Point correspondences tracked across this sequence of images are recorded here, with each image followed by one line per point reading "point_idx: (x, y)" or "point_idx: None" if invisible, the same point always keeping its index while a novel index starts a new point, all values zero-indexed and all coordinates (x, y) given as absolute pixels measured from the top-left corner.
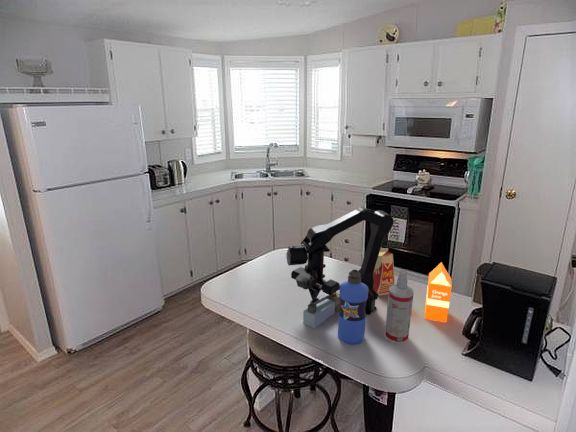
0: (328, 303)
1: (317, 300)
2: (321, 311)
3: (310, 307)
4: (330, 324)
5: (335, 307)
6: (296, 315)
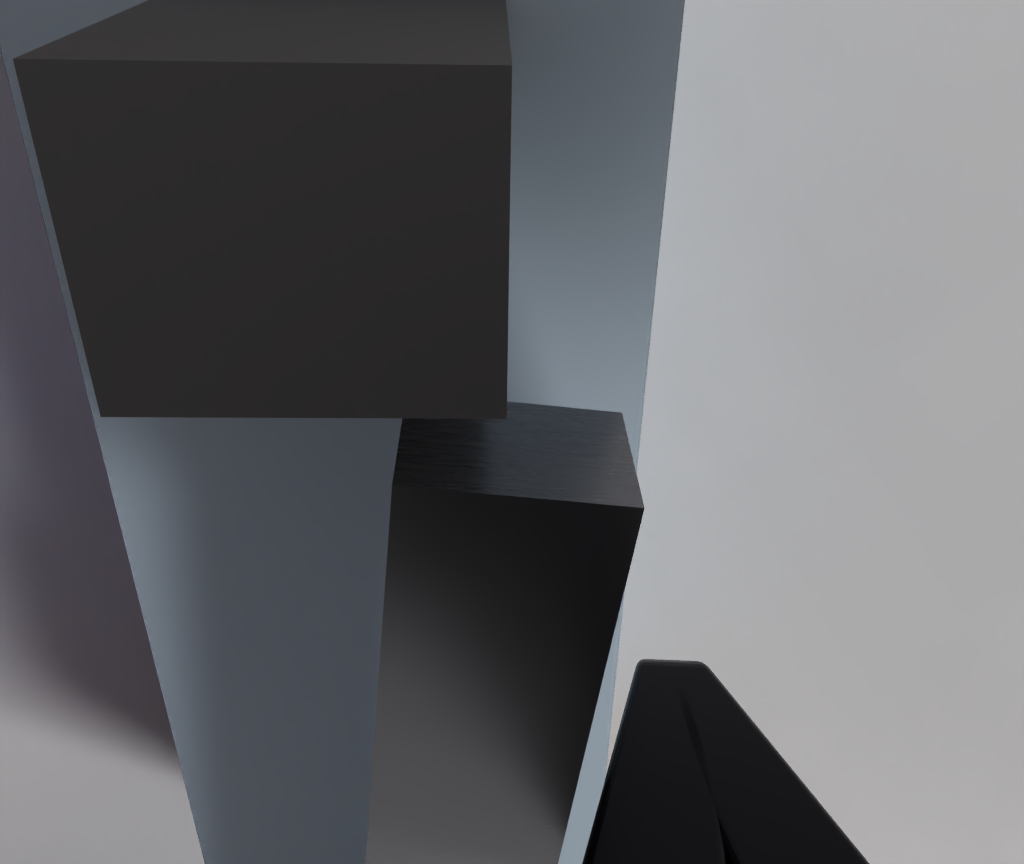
0: (287, 826)
1: (400, 741)
2: (89, 391)
3: (284, 46)
4: (29, 324)
5: None
6: (998, 81)
